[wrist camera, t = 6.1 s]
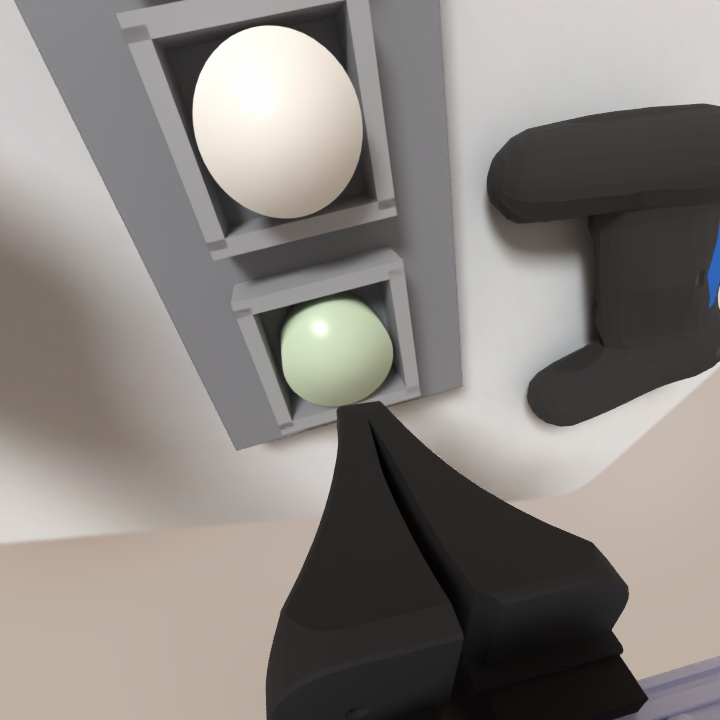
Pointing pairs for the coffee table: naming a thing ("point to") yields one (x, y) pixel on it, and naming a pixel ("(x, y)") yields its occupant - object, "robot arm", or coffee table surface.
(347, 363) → the sage button
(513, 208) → the gaming controller
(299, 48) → the offwhite button
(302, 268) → the button panel
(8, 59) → the coffee table surface
